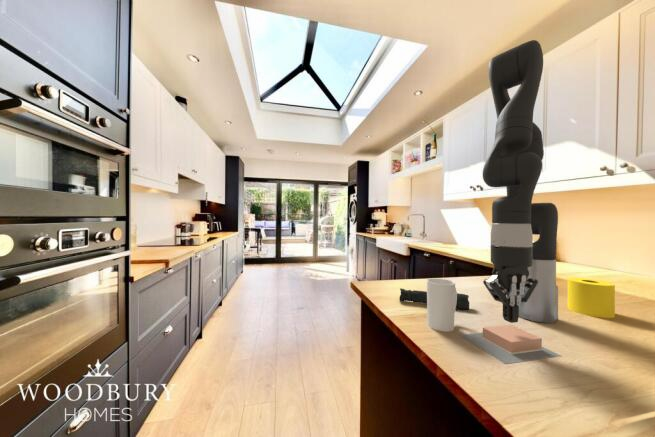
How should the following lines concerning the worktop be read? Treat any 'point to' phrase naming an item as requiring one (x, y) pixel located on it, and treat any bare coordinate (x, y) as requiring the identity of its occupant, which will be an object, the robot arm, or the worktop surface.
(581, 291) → the tape roll
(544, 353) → the mat
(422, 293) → the flashlight
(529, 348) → the tile
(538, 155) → the robot arm
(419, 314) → the worktop surface
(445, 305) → the mug
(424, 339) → the worktop surface
